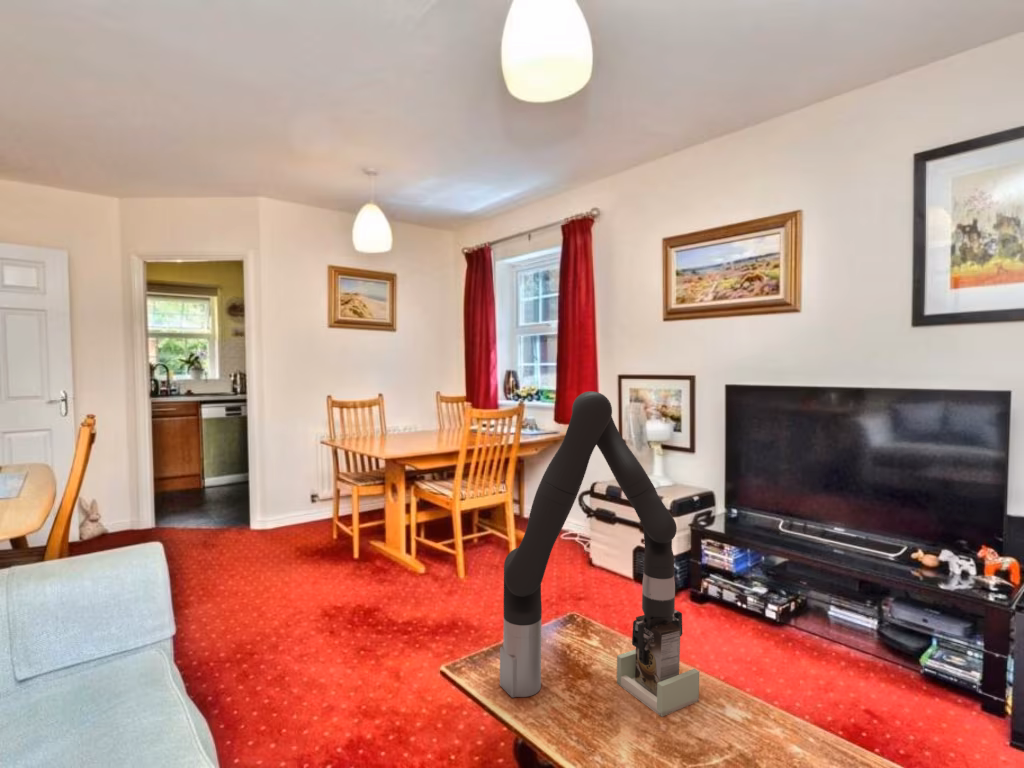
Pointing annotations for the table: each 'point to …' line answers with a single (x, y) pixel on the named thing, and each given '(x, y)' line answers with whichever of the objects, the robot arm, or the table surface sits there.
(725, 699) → the table surface
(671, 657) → the coffee box
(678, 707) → the caddy
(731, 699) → the table surface
